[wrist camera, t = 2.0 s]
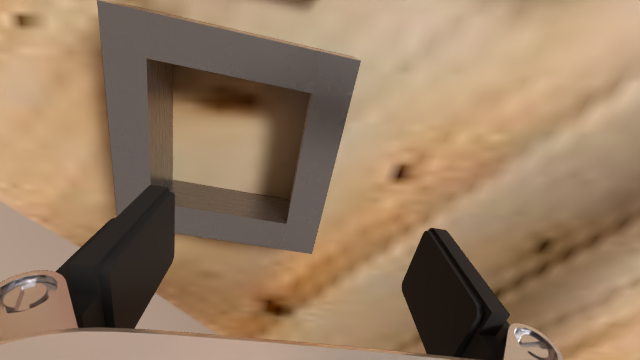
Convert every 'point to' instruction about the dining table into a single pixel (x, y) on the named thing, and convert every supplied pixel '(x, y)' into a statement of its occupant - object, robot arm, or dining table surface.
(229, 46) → the grey square frame
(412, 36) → the dining table surface
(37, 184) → the dining table surface
